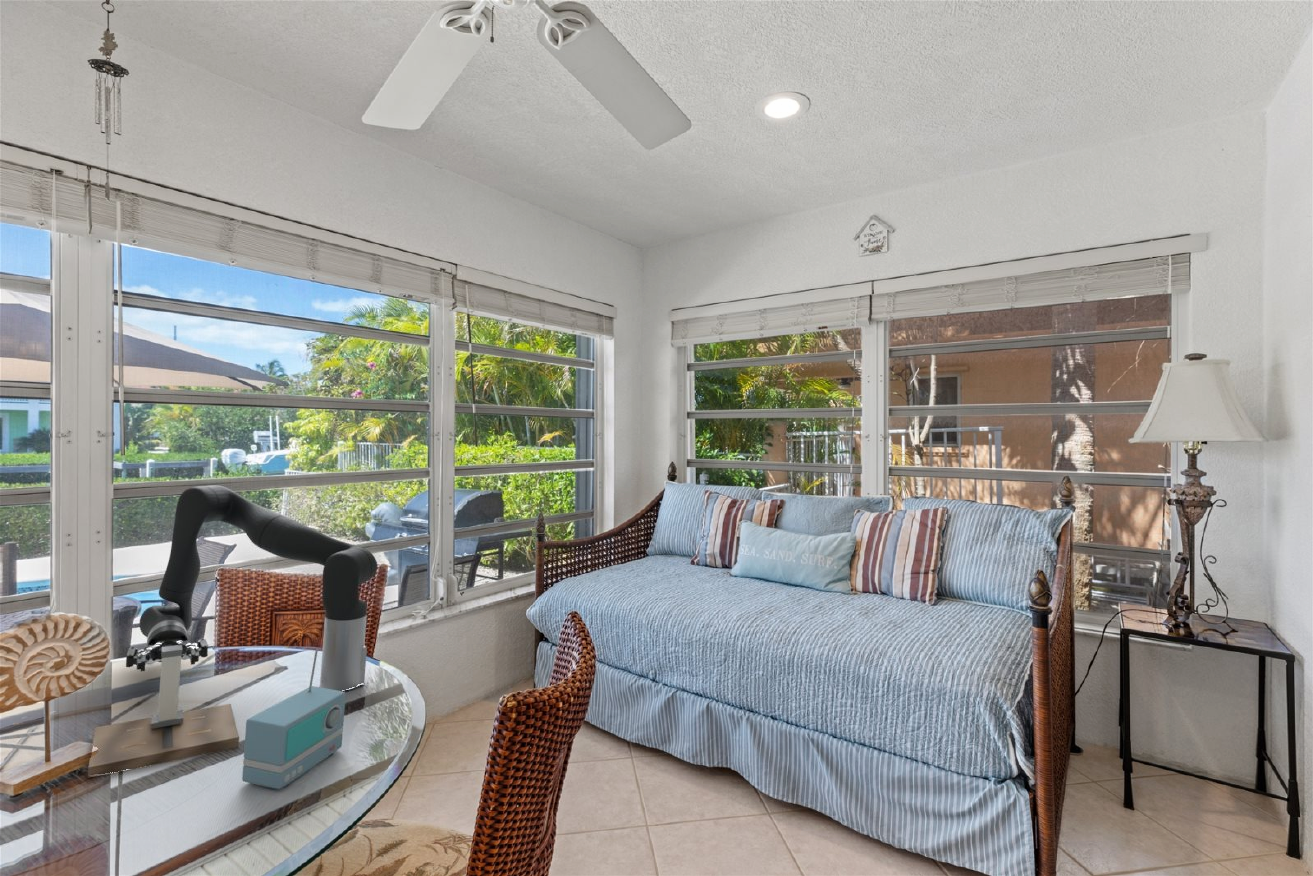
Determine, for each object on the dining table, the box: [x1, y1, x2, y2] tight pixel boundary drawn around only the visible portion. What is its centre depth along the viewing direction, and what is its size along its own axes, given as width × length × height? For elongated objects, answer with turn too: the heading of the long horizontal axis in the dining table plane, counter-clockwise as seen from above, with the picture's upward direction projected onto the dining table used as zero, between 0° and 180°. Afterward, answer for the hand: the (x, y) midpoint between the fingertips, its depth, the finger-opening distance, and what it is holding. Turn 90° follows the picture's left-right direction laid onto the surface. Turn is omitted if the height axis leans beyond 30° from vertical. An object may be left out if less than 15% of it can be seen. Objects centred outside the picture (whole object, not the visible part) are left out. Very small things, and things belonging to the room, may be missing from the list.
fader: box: [150, 645, 184, 729], centre depth 127 cm, size 5×4×15 cm
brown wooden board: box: [87, 703, 240, 777], centre depth 124 cm, size 22×17×2 cm
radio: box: [241, 648, 346, 790], centre depth 118 cm, size 16×9×20 cm, turn 168°
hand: (168, 663), depth 135 cm, fingers open, 8 cm apart
